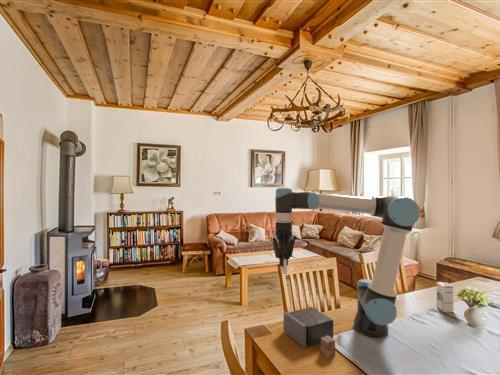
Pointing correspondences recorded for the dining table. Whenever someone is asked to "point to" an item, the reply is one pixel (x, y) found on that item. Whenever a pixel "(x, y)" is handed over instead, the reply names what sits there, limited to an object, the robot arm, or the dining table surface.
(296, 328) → the grey drawer
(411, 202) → the robot arm
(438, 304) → the syrup box
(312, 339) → the housing
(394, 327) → the dining table surface
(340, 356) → the dining table surface
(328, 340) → the pedestal
